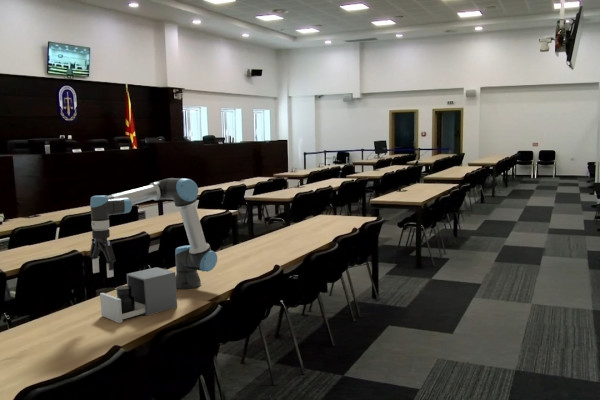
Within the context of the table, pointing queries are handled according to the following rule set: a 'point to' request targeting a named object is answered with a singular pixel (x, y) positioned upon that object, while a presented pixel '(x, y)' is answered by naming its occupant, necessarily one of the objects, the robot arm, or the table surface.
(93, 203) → the robot arm
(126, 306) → the ink bottle
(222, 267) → the table surface
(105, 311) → the light grey drawer
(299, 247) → the table surface
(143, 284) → the cubby
